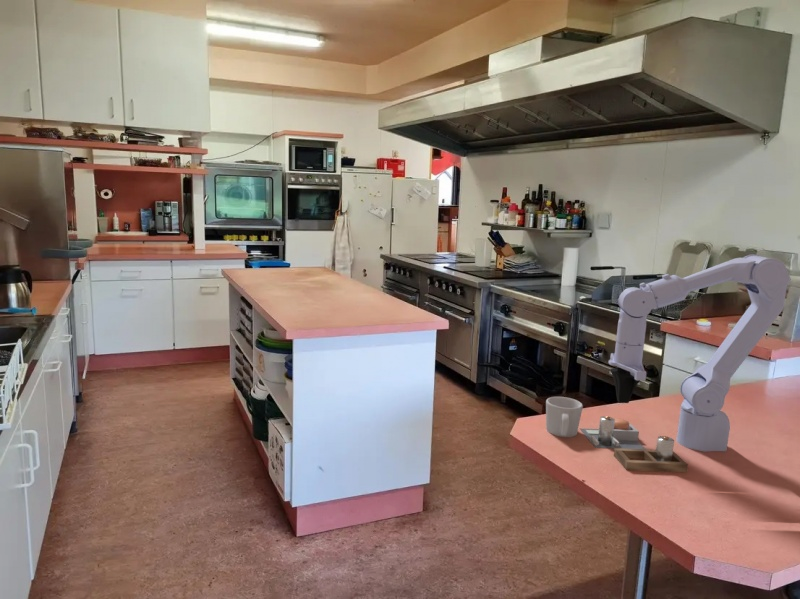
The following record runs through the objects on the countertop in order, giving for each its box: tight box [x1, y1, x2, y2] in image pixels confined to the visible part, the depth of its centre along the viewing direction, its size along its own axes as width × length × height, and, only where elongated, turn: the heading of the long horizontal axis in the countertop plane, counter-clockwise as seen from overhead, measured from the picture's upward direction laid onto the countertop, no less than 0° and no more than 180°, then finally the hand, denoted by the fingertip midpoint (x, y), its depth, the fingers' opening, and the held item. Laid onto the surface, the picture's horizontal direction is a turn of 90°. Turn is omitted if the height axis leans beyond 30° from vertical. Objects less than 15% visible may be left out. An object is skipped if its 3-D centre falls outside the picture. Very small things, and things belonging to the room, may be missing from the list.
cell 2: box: [655, 435, 675, 462], centre depth 115 cm, size 3×3×6 cm
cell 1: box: [598, 415, 616, 446], centre depth 124 cm, size 3×3×6 cm
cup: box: [545, 396, 584, 438], centre depth 128 cm, size 11×8×8 cm
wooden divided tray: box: [613, 448, 689, 473], centre depth 115 cm, size 12×6×3 cm, turn 91°
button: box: [614, 418, 630, 430], centre depth 129 cm, size 4×4×2 cm
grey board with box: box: [578, 422, 647, 450], centre depth 127 cm, size 11×10×3 cm
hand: (622, 402), depth 128 cm, fingers closed
